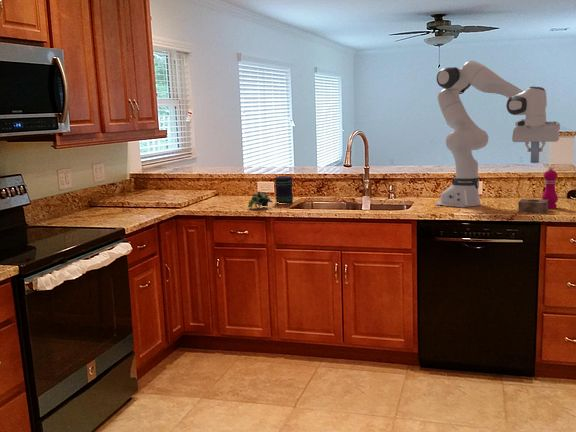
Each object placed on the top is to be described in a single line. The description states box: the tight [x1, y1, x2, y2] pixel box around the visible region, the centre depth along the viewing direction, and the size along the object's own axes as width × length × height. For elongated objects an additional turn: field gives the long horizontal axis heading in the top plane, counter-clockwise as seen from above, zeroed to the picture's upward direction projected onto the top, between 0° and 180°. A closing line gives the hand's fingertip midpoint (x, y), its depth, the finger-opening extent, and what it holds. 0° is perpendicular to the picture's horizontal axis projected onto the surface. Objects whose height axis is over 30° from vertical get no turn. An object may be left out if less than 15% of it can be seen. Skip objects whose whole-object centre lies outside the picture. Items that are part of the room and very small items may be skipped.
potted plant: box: [247, 191, 273, 209], centre depth 328 cm, size 11×11×12 cm
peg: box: [530, 141, 540, 164], centre depth 282 cm, size 4×4×10 cm
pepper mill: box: [541, 166, 559, 210], centre depth 293 cm, size 7×7×20 cm
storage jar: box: [274, 175, 294, 204], centre depth 343 cm, size 10×10×15 cm
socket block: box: [517, 198, 549, 214], centre depth 287 cm, size 12×10×5 cm
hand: (534, 151), depth 282 cm, fingers closed on peg, 4 cm apart
